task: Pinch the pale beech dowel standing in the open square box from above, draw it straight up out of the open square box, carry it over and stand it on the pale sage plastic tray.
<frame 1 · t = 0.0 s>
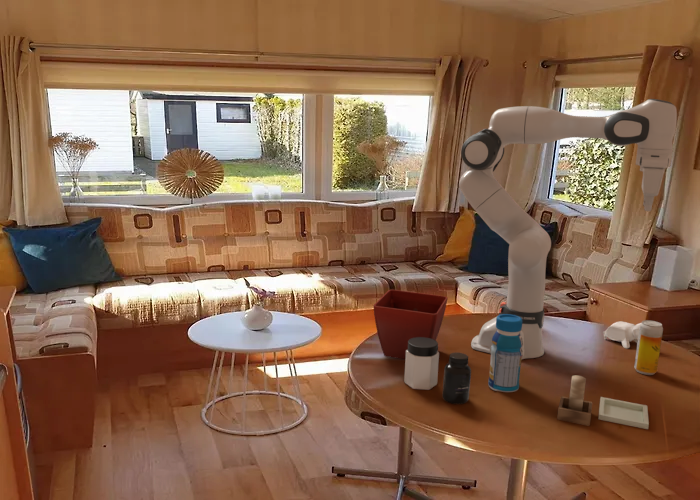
hand: (646, 208, 174), 48 cm above the table, tool pointing down, fingers open, 8 cm apart
open square box: (574, 418, 152), on the table
beverage bottle: (503, 388, 169), on the table
jar: (420, 384, 170), on the table
beer can: (645, 372, 183), on the table
dowel: (574, 416, 152), point 1 cm above the table, touching open square box
plant pot: (408, 353, 191), on the table
white low-poly figurine: (626, 344, 205), on the table
supplement bottle: (455, 399, 161), on the table
tray: (622, 416, 154), on the table
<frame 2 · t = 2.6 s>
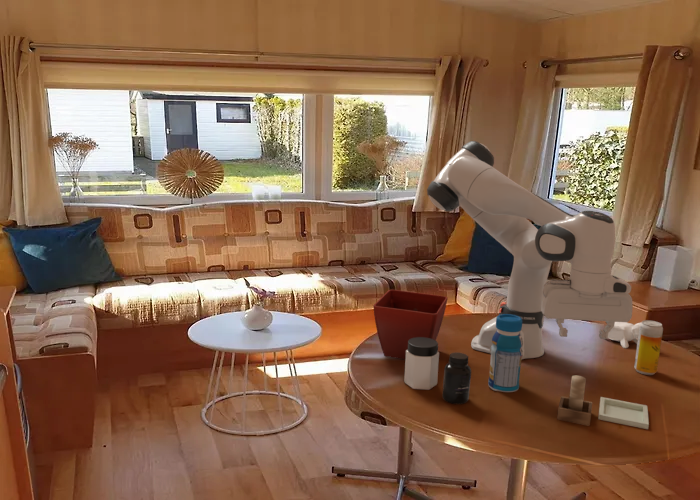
hand: (583, 337, 148), 21 cm above the table, tool pointing down, fingers open, 8 cm apart
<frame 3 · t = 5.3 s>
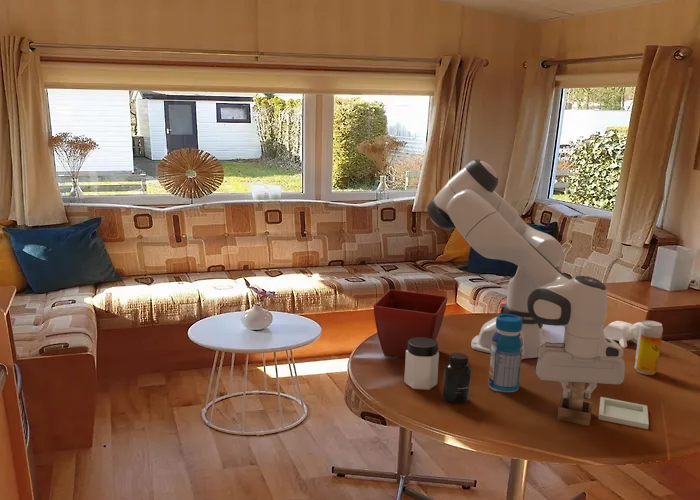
hand: (576, 397, 151), 6 cm above the table, tool pointing down, fingers closed on dowel, 3 cm apart
dowel: (574, 416, 152), point 1 cm above the table, touching open square box, gripper
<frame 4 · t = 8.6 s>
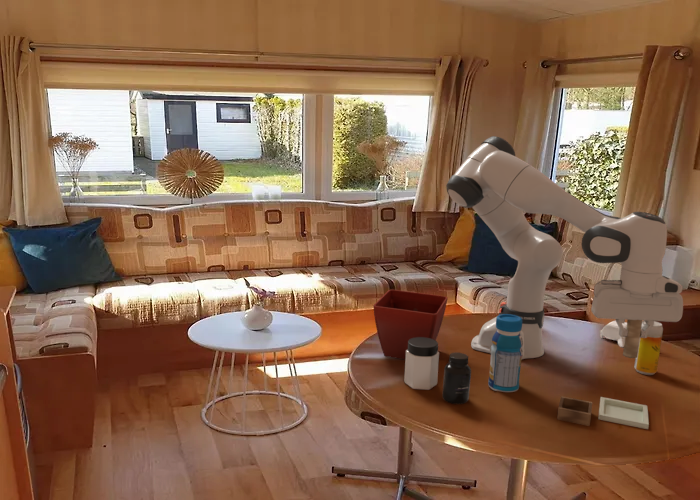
hand: (632, 336, 149), 21 cm above the table, tool pointing down, fingers closed on dowel, 3 cm apart
dowel: (630, 355, 150), point 16 cm above the table, touching gripper
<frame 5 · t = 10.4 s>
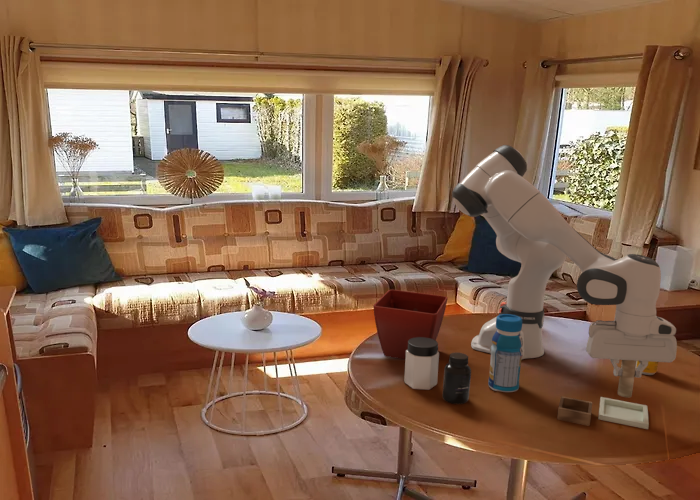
hand: (627, 375, 152), 11 cm above the table, tool pointing down, fingers closed on dowel, 3 cm apart
dowel: (624, 394, 152), point 6 cm above the table, touching gripper
when the fingers open (6 cm above the table, at t = 12.0 s): dowel stays where it is, resting on tray.
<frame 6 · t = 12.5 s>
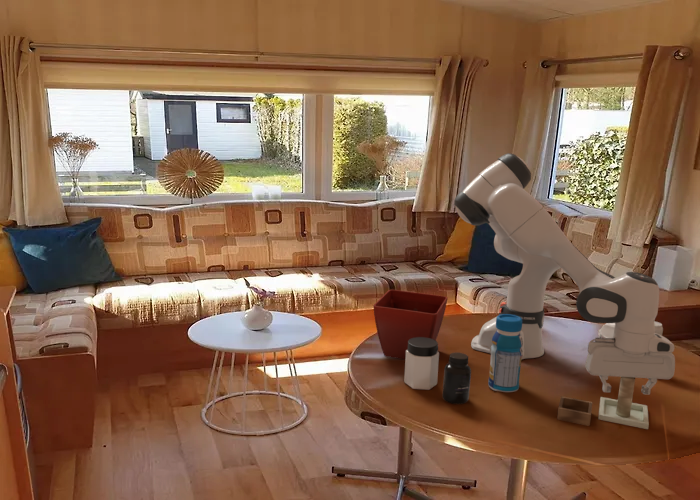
hand: (625, 392, 153), 6 cm above the table, tool pointing down, fingers open, 8 cm apart
dowel: (622, 414, 154), point 1 cm above the table, touching tray
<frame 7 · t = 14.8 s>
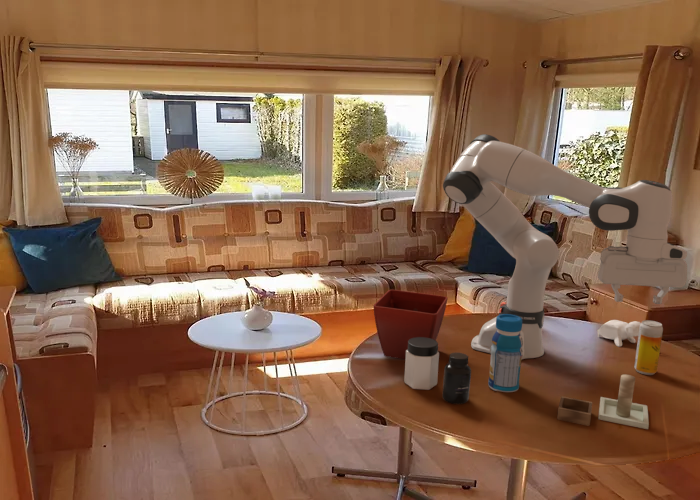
hand: (637, 302, 153), 28 cm above the table, tool pointing down, fingers open, 8 cm apart
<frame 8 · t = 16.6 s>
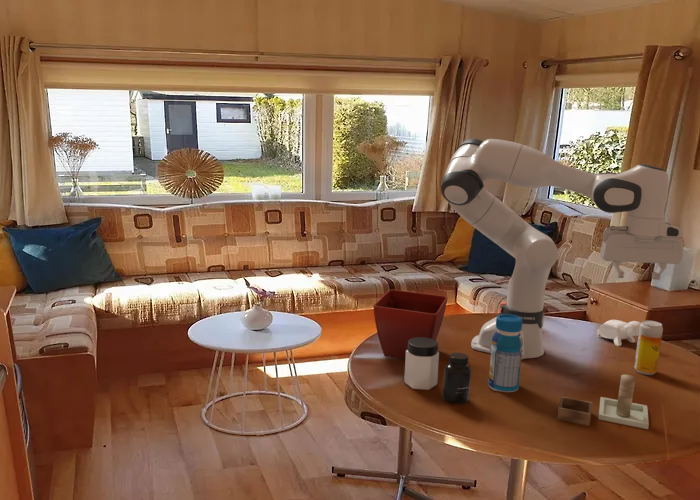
hand: (637, 278, 165), 31 cm above the table, tool pointing down, fingers open, 8 cm apart
at the end: dowel inside the target area on the tray (0.1 cm from its centre), point 0.6 cm above the tray's base; dowel tilted 0°; the gripper is holding nothing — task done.
